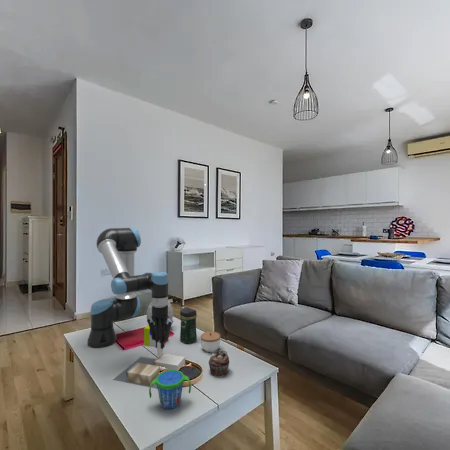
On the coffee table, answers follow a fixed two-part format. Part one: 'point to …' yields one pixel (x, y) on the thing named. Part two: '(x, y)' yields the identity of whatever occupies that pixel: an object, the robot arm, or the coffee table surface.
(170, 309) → the vase
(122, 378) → the mat
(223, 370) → the cupcake
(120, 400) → the coffee table surface
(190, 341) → the coffee jar
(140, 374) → the oak slab
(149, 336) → the puzzle toy
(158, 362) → the cream slab
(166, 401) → the snack cup
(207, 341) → the lidded jar
